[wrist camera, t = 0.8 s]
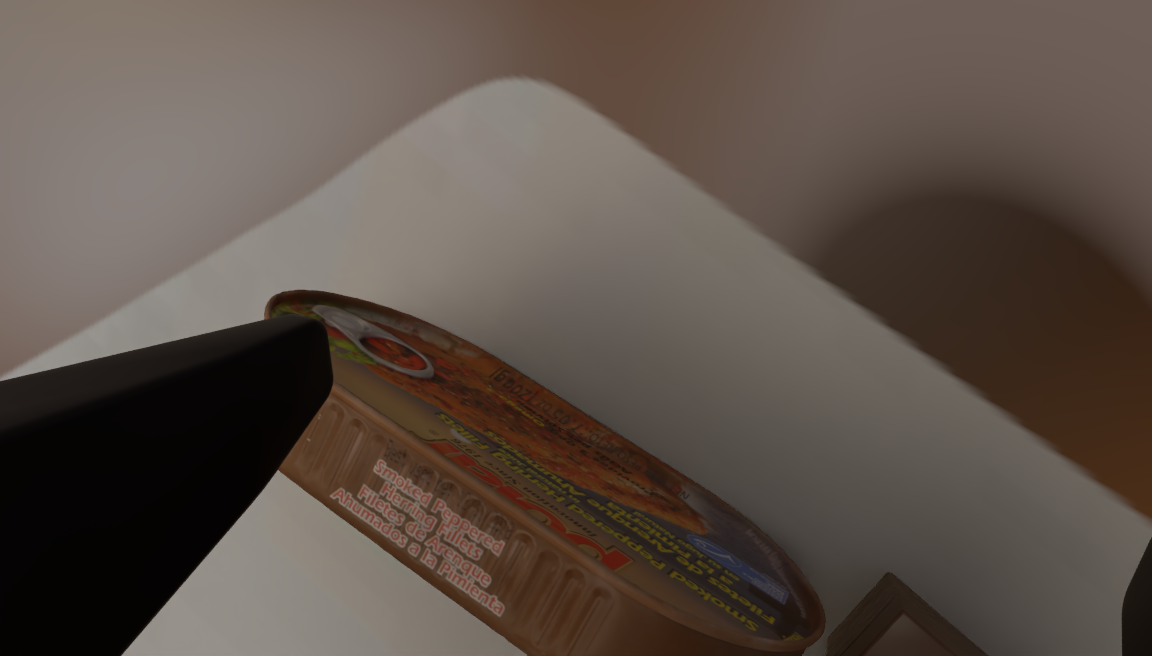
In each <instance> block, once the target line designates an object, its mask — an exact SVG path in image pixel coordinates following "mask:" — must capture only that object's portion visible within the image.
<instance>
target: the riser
mask: <svg viewBox="0 0 1152 656" xmlns="http://www.w3.org/2000/svg"><path fill="white" fill-rule="evenodd" d="M826 656H988V655H987V654H986V653H984V652H983V651H982V650H981V649H980V648H979V647H977V646H976V645H975V644H974V643H973V642H972V641H970V640H969V639H968V638H967V637H966V636H965V635H963V634H962V633H961V632H960V631H959V630H958V629H956V628H955V627H954V626H953V625H952V624H951V623H949V622H948V621H947V620H946V619H945V618H944V617H942V616H941V615H940V614H939V613H938V612H937V611H935V610H934V609H933V608H932V607H931V606H930V605H928V604H927V603H926V602H925V601H924V600H923V599H921V598H920V597H919V596H918V595H917V594H916V593H914V592H913V591H912V590H911V589H910V588H909V587H907V586H906V585H905V584H904V583H903V582H902V581H900V580H899V579H898V578H897V577H896V576H895V575H893V574H892V573H890V572H888V573H887V574H886V575H885V576H884V577H883V578H882V579H881V580H880V581H879V582H878V583H877V585H876V586H875V587H874V588H873V589H872V590H871V591H870V592H869V593H868V594H867V595H866V597H865V598H864V599H863V600H862V601H861V602H860V603H859V604H858V605H857V606H856V607H855V609H854V610H853V611H852V612H851V613H850V614H849V615H848V616H847V617H846V618H845V619H844V621H843V622H842V623H841V624H840V625H839V626H838V627H837V628H836V629H835V630H834V632H833V633H832V634H831V635H830V636H829V637H828V643H827V652H826Z"/></svg>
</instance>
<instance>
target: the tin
mask: <svg viewBox="0 0 1152 656" xmlns="http://www.w3.org/2000/svg"><path fill="white" fill-rule="evenodd" d="M288 314H297V315H301V316H305V317H309V318H314V319H318V320H320V321H321V322H322V323H323V324H324V325H325V327H326V329H327V332H328V339H329V346H330V353H331V361H332V368H333V377H334V379H333V386H332V390H331V392H330V395H329V397H328V398H327V400H326V401H325V403H324V404H323V406H322V407H321V408H320V410H319V411H318V413H317V414H316V416H315V417H314V418H313V420H312V421H311V423H310V424H309V426H308V427H307V429H306V430H305V431H304V433H303V434H302V436H301V437H300V439H299V440H298V441H297V443H296V444H295V446H294V447H293V449H292V450H291V451H290V453H289V454H288V456H287V457H286V459H285V460H284V462H283V463H282V464H281V466H280V467H279V469H278V470H279V471H280V472H281V473H282V474H284V475H285V476H287V477H288V478H289V479H290V480H292V481H293V482H294V483H296V484H297V485H298V486H300V487H301V488H302V489H303V490H305V491H306V492H307V493H309V494H310V495H311V496H313V497H314V498H316V499H317V500H319V501H320V502H321V503H322V504H324V505H325V506H326V507H327V508H329V509H330V510H331V511H333V512H334V513H335V514H337V515H338V516H339V517H341V518H342V519H344V520H345V521H346V522H348V523H349V524H350V525H352V526H353V527H354V528H356V529H357V530H358V531H359V532H361V533H362V534H364V535H365V536H367V537H368V538H369V539H371V540H372V541H373V542H375V543H376V544H377V545H379V546H380V547H381V548H382V549H384V550H385V551H386V552H388V553H389V554H391V555H392V556H393V557H395V558H396V559H397V560H398V561H399V562H401V563H402V564H404V565H405V566H407V567H408V568H410V569H411V570H412V571H414V572H415V573H416V574H418V575H419V576H420V577H422V578H423V579H424V580H425V581H427V582H428V583H430V584H431V585H432V586H434V587H435V588H437V589H438V590H439V591H441V592H442V593H444V594H445V595H446V596H448V597H449V598H450V599H452V600H453V601H455V602H456V603H457V604H459V605H460V606H461V607H463V608H464V609H465V610H467V611H468V612H469V613H471V614H472V615H474V616H475V617H476V618H478V619H479V620H481V621H482V622H484V623H485V624H486V625H487V626H489V627H490V628H491V629H492V630H494V631H495V632H497V633H498V634H500V635H502V636H503V637H505V638H506V639H507V640H508V641H509V642H510V643H512V644H513V645H515V646H516V647H517V648H519V649H520V650H522V651H523V652H524V653H526V654H527V655H528V656H802V654H803V653H804V651H805V650H806V648H807V647H809V646H811V645H812V644H814V643H815V642H816V641H817V640H818V639H819V638H820V637H821V636H822V634H823V632H824V628H825V622H826V621H825V613H824V609H823V606H822V604H821V602H820V599H819V597H818V595H817V593H816V592H815V590H814V589H813V587H812V586H811V585H810V583H809V582H808V580H807V579H806V578H805V576H804V575H803V573H802V572H801V571H800V570H799V569H798V567H797V566H796V565H795V564H794V563H793V561H792V560H791V559H790V558H789V557H788V556H787V555H786V554H785V553H784V552H783V550H782V549H781V548H780V547H779V546H778V545H777V544H776V543H775V542H774V541H773V540H772V539H771V538H769V537H768V536H767V535H766V534H765V533H764V532H763V531H762V530H760V529H759V528H758V527H757V526H755V525H754V524H753V523H752V522H751V521H749V520H748V519H747V518H746V517H744V516H743V515H742V514H740V513H739V512H738V511H736V510H735V509H734V508H732V507H731V506H729V505H728V504H726V503H725V502H723V501H722V500H720V499H719V498H718V497H717V496H715V495H714V494H712V493H711V492H709V491H708V490H706V489H704V488H703V487H701V486H700V485H698V484H697V483H695V482H694V481H692V480H690V479H689V478H687V477H686V476H684V475H683V474H681V473H679V472H678V471H676V470H674V469H673V468H671V467H670V466H668V465H667V464H665V463H663V462H662V461H660V460H659V459H657V458H656V457H654V456H652V455H650V454H649V453H647V452H645V451H644V450H642V449H641V448H639V447H638V446H636V445H635V444H633V443H632V442H630V441H628V440H627V439H625V438H623V437H622V436H620V435H618V434H617V433H615V432H614V431H612V430H611V429H609V428H607V427H606V426H604V425H602V424H601V423H599V422H598V421H596V420H594V419H593V418H591V417H590V416H588V415H587V414H585V413H583V412H582V411H580V410H579V409H577V408H575V407H574V406H572V405H571V404H569V403H567V402H566V401H564V400H563V399H561V398H560V397H558V396H557V395H555V394H554V393H552V392H550V391H549V390H547V389H546V388H544V387H542V386H541V385H539V384H537V383H536V382H534V381H533V380H531V379H529V378H528V377H526V376H525V375H523V374H521V373H520V372H518V371H517V370H515V369H514V368H512V367H510V366H509V365H507V364H506V363H504V362H502V361H501V360H499V359H498V358H496V357H494V356H493V355H491V354H489V353H487V352H486V351H484V350H482V349H480V348H479V347H477V346H475V345H473V344H471V343H470V342H468V341H465V340H463V339H461V338H459V337H457V336H455V335H453V334H451V333H449V332H447V331H445V330H443V329H441V328H439V327H437V326H434V325H432V324H430V323H428V322H425V321H423V320H421V319H418V318H416V317H413V316H411V315H409V314H405V313H402V312H399V311H397V310H394V309H391V308H389V307H385V306H382V305H378V304H375V303H372V302H369V301H365V300H361V299H358V298H353V297H348V296H343V295H339V294H335V293H329V292H324V291H315V290H311V291H309V290H294V291H288V292H287V291H286V292H282V293H280V294H276V295H274V296H273V297H272V298H271V299H270V300H269V301H268V303H267V305H266V308H265V313H264V316H265V319H264V320H266V319H270V318H275V317H279V316H283V315H288Z"/></svg>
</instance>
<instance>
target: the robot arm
mask: <svg viewBox="0 0 1152 656" xmlns="http://www.w3.org/2000/svg"><path fill="white" fill-rule="evenodd" d="M333 379H334V377H333V368H332V361H331V353H330V346H329V339H328V332H327V329H326V327H325V325H324V324H323V323H322V322H321V321H320V320H318V319H314V318H309V317H305V316H301V315H297V314H288V315H283V316H279V317H275V318H270V319H266V320H262V321H258V322H253V323H249V324H245V325H240V326H236V327H232V328H227V329H223V330H219V331H215V332H210V333H206V334H202V335H197V336H193V337H189V338H184V339H180V340H176V341H171V342H167V343H163V344H159V345H154V346H150V347H146V348H141V349H137V350H133V351H128V352H124V353H120V354H116V355H111V356H107V357H103V358H98V359H94V360H90V361H85V362H81V363H77V364H72V365H68V366H64V367H60V368H55V369H51V370H47V371H42V372H38V373H34V374H29V375H25V376H21V377H17V378H12V379H8V380H4V381H0V656H121V655H122V654H123V653H124V652H125V651H126V649H127V648H128V647H129V646H130V645H131V644H132V642H133V641H134V640H135V639H136V638H137V637H138V635H139V634H140V633H141V632H142V631H143V630H144V629H145V627H146V626H147V625H148V624H149V623H150V622H151V620H152V619H153V618H154V617H155V616H156V615H157V613H158V612H159V611H160V610H161V609H162V608H163V606H164V605H165V604H166V603H167V602H168V601H169V599H170V598H171V597H172V596H173V595H174V594H175V592H176V591H177V590H178V589H179V588H180V587H181V585H182V584H183V583H184V582H185V581H186V580H187V578H188V577H189V576H190V575H191V574H192V573H193V571H194V570H195V569H196V568H197V567H198V566H199V564H200V563H201V562H202V561H203V560H204V559H205V557H206V556H207V555H208V554H209V553H210V552H211V550H212V549H213V548H214V547H215V546H216V545H217V543H218V542H219V541H220V540H221V539H222V538H223V537H224V535H225V534H226V533H227V532H228V531H229V530H230V528H231V527H232V526H233V525H234V524H235V523H236V521H237V520H238V519H239V518H240V517H241V516H242V514H243V513H244V512H245V511H246V510H247V509H248V507H249V506H250V505H251V504H252V503H253V501H254V500H255V499H256V498H257V497H258V495H259V494H260V493H261V492H262V490H263V489H264V488H265V487H266V485H267V484H268V482H269V481H270V480H271V478H272V477H273V476H274V474H275V473H276V472H277V470H278V469H279V467H280V466H281V464H282V463H283V462H284V460H285V459H286V457H287V456H288V454H289V453H290V451H291V450H292V449H293V447H294V446H295V444H296V443H297V441H298V440H299V439H300V437H301V436H302V434H303V433H304V431H305V430H306V429H307V427H308V426H309V424H310V423H311V421H312V420H313V418H314V417H315V416H316V414H317V413H318V411H319V410H320V408H321V407H322V406H323V404H324V403H325V401H326V400H327V398H328V397H329V395H330V392H331V390H332V386H333ZM1122 656H1152V538H1151V539H1150V541H1149V543H1148V546H1147V548H1146V550H1145V552H1144V554H1143V556H1142V558H1141V561H1140V563H1139V565H1138V567H1137V569H1136V571H1135V573H1134V576H1133V578H1132V580H1131V582H1130V584H1129V586H1128V589H1127V591H1126V594H1125V597H1124V602H1123V607H1122Z"/></svg>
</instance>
